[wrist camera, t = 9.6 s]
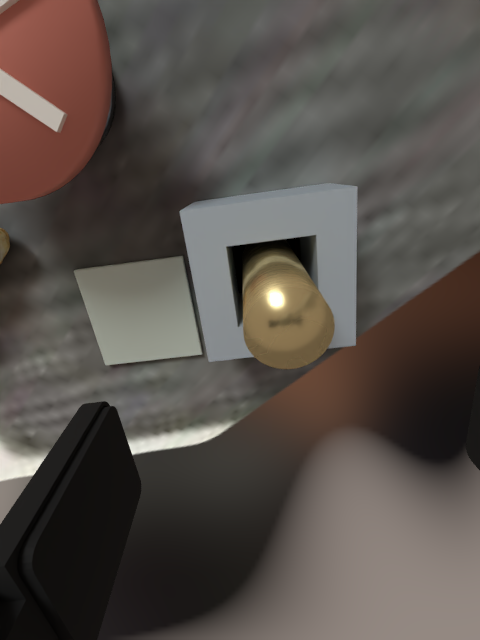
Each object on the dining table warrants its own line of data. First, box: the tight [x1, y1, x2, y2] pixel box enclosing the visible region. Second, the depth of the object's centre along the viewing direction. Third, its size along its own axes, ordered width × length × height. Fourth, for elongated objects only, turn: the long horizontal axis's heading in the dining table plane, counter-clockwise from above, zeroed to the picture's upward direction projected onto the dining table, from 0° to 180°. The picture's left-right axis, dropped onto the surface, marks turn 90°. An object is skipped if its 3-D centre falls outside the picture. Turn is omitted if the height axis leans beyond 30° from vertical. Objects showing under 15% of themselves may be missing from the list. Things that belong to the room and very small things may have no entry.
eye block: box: [179, 183, 357, 362], centre depth 21 cm, size 9×9×6 cm
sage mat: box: [74, 256, 202, 365], centre depth 26 cm, size 8×8×1 cm
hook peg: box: [242, 239, 335, 369], centre depth 19 cm, size 4×4×12 cm
